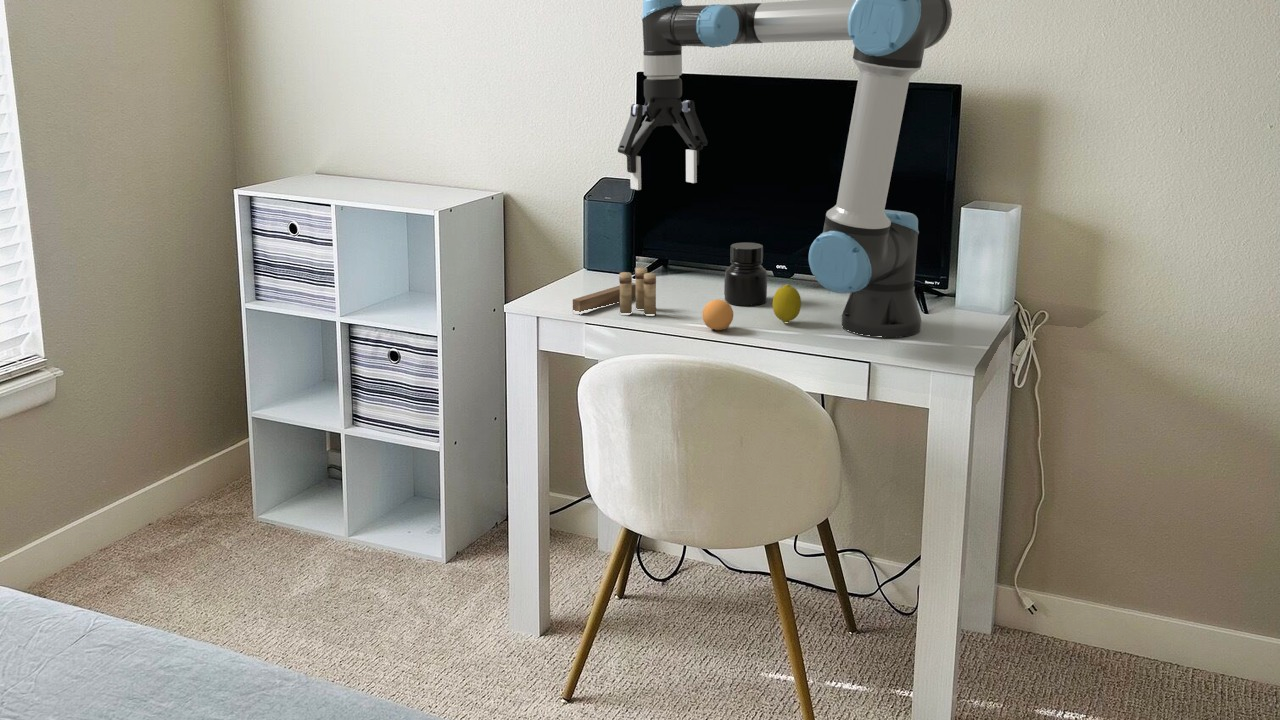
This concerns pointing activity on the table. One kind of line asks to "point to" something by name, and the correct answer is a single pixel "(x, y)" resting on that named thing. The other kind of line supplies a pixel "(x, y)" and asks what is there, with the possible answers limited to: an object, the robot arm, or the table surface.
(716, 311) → the ball
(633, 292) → the rail
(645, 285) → the pin front
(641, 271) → the pin
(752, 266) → the ink bottle
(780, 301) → the lemon
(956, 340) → the table surface
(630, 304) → the pin
